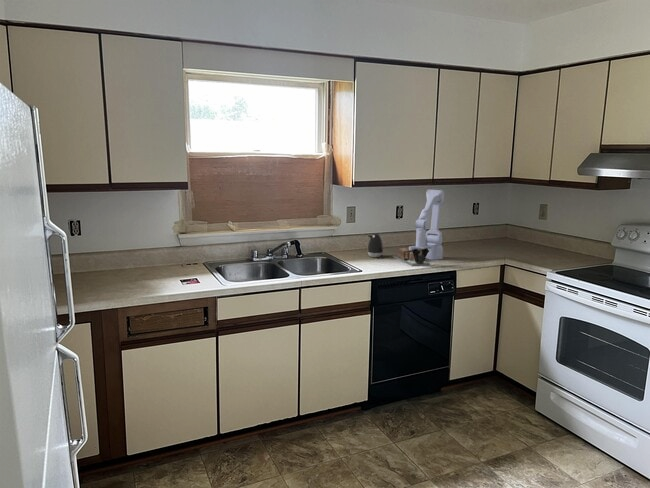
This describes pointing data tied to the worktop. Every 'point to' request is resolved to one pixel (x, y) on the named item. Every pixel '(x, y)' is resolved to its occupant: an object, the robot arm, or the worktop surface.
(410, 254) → the block
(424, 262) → the track
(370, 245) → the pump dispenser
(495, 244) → the worktop surface
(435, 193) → the robot arm
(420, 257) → the sled
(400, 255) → the tunnel
